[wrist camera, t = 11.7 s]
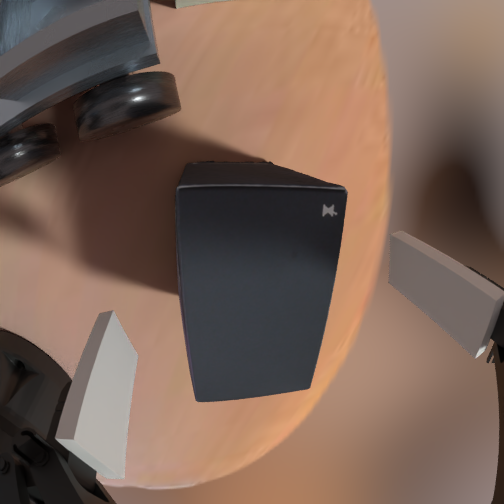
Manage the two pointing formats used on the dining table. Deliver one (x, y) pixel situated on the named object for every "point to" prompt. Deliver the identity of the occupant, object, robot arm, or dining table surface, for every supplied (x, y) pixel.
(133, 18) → the trolley
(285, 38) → the dining table surface
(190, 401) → the dining table surface
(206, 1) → the tray
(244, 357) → the small box
